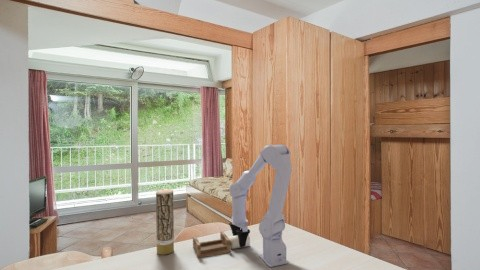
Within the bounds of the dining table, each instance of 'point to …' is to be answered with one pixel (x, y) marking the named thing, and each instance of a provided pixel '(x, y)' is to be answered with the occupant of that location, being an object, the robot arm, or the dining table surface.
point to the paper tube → (164, 221)
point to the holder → (211, 246)
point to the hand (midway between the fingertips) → (239, 242)
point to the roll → (237, 242)
